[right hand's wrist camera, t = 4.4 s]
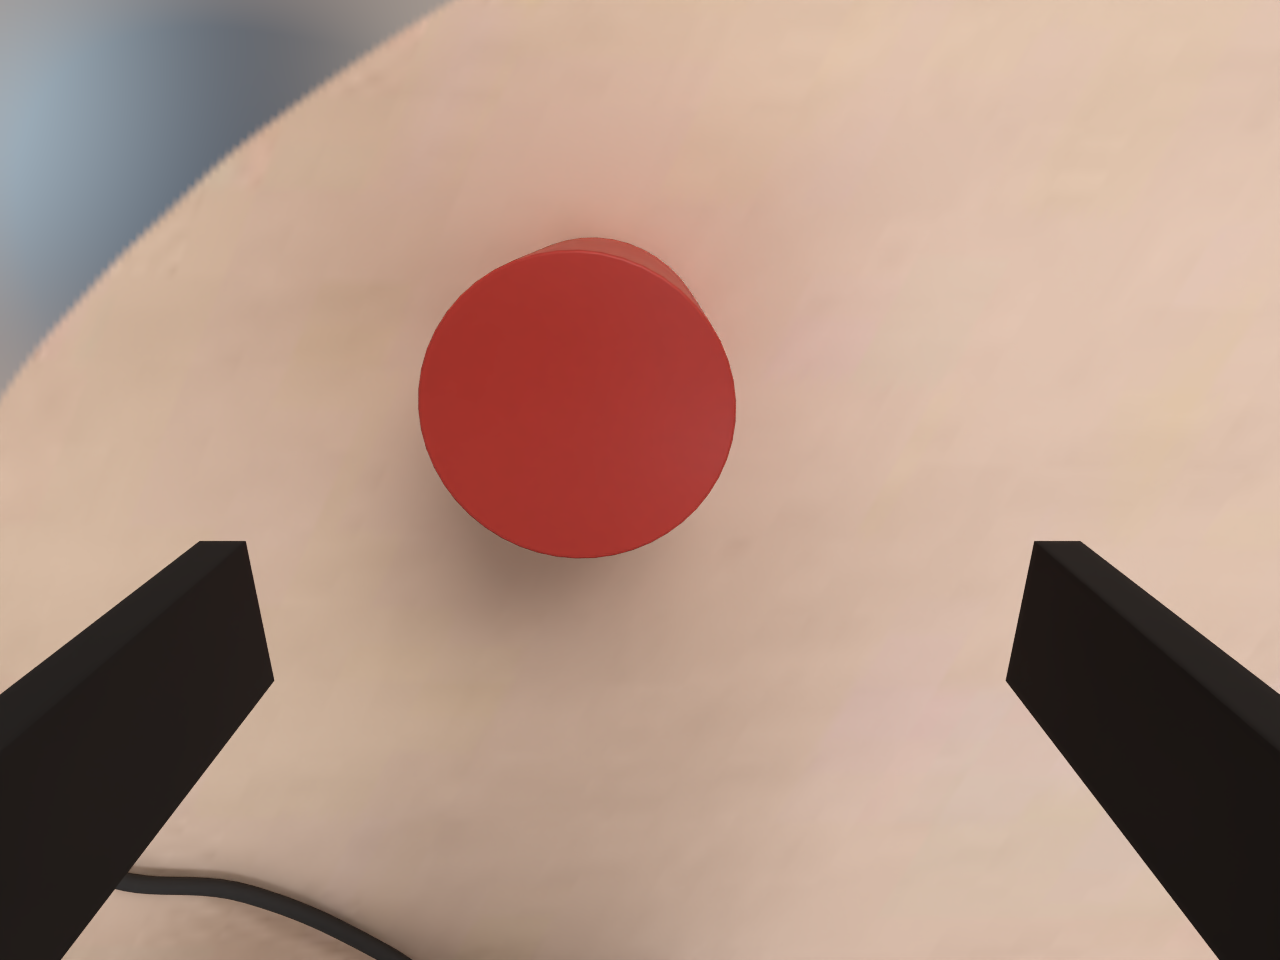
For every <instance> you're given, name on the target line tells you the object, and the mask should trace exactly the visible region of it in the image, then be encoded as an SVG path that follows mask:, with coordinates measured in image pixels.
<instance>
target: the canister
mask: <svg viewBox="0 0 1280 960" xmlns="http://www.w3.org/2000/svg"><path fill="white" fill-rule="evenodd" d="M418 410H419V417H420V425H421V431H422V435H423V438H424V442H425V446H426V449H427V452H428V454H429V456H430V459H431V461H432V464H433V466H434V468H435V470H436V472H437V473H438V475H439V477H440V479H441V480H442V482H443V484H444V485H445V487H446V488H447V489H448V491H449V492H450V493H451V495H452V496H453V497H454V499H455V500H456V501H457V502H458V503H459V504H460V505H461V506H462V507H463V508H464V509H465V510H466V512H467V513H468V514H469V515H471V516H472V517H473V518H474V519H475V520H477V521H478V522H479V523H480V524H482V525H483V526H484V527H485V528H487V529H488V530H490V531H492V532H493V533H495V534H496V535H498V536H500V537H501V538H503V539H505V540H507V541H509V542H511V543H514V544H516V545H518V546H520V547H523V548H526V549H529V550H532V551H535V552H538V553H543V554H547V555H552V556H557V557H567V558H597V557H604V556H611V555H616V554H620V553H623V552H627V551H631V550H634V549H636V548H639V547H641V546H644V545H646V544H649V543H651V542H653V541H654V540H656V539H658V538H660V537H662V536H663V535H665V534H667V533H668V532H670V531H671V530H673V529H674V528H675V527H677V526H678V525H679V524H681V523H682V522H683V521H684V520H685V519H686V518H687V517H689V516H690V515H691V514H692V513H693V512H694V511H695V510H696V509H697V508H698V507H699V505H700V504H701V503H702V502H703V500H704V499H705V498H706V497H707V495H708V494H709V493H710V491H711V489H712V488H713V486H714V485H715V483H716V481H717V480H718V478H719V476H720V474H721V472H722V469H723V467H724V465H725V463H726V460H727V457H728V454H729V451H730V447H731V444H732V440H733V434H734V427H735V421H736V398H735V389H734V381H733V377H732V373H731V369H730V365H729V361H728V358H727V356H726V353H725V351H724V349H723V346H722V344H721V341H720V339H719V338H718V336H717V334H716V332H715V331H714V329H713V327H712V325H711V324H710V322H709V320H708V319H707V317H706V316H705V314H704V313H703V311H702V309H701V308H700V306H699V305H698V303H697V302H696V300H695V299H694V297H693V295H692V294H691V292H690V291H689V289H688V288H687V287H686V285H685V284H684V283H683V281H682V280H681V279H680V278H679V277H678V276H677V275H676V274H675V273H674V272H673V271H672V270H671V269H670V268H669V267H668V266H667V265H666V264H664V263H663V262H662V261H661V260H659V259H658V258H657V257H655V256H653V255H652V254H650V253H648V252H646V251H645V250H643V249H641V248H638V247H636V246H633V245H631V244H628V243H624V242H620V241H616V240H613V239H604V238H579V239H573V240H567V241H563V242H560V243H556V244H553V245H550V246H548V247H545V248H543V249H540V250H538V251H536V252H533V253H531V254H528V255H526V256H523V257H521V258H518V259H516V260H514V261H512V262H509V263H507V264H505V265H503V266H501V267H499V268H497V269H495V270H493V271H492V272H490V273H489V274H487V275H486V276H484V277H483V278H481V279H479V280H478V281H476V282H475V283H474V284H473V285H472V286H471V287H470V288H469V289H467V290H466V291H465V292H464V293H463V294H462V295H461V296H460V297H459V298H458V299H457V300H456V301H455V303H454V304H453V305H452V306H451V307H450V309H449V310H448V311H447V312H446V314H445V315H444V317H443V319H442V320H441V322H440V323H439V325H438V326H437V328H436V330H435V332H434V334H433V336H432V339H431V341H430V343H429V345H428V348H427V350H426V354H425V357H424V361H423V364H422V368H421V374H420V381H419V389H418Z"/></svg>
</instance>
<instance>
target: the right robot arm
mask: <svg viewBox="0 0 1280 960" xmlns="http://www.w3.org/2000/svg"><path fill="white" fill-rule="evenodd" d="M273 682H274V677H273V672H272V667H271V662H270V657H269V653H268V648H267V643H266V638H265V633H264V628H263V623H262V618H261V614H260V609H259V604H258V599H257V594H256V589H255V584H254V579H253V575H252V570H251V565H250V560H249V555H248V550H247V545H246V541H199V542H198V543H197V544H195V545H194V546H193V547H191V548H190V549H189V550H187V551H186V552H185V553H184V554H182V555H181V556H180V557H178V558H177V559H176V560H174V561H173V562H172V563H171V564H169V565H168V566H167V567H165V568H164V569H163V570H161V571H160V572H159V573H158V574H156V575H155V576H154V577H152V578H151V579H150V580H148V581H147V582H146V583H145V584H143V585H142V586H141V587H139V588H138V589H137V590H135V591H134V592H133V593H132V594H130V595H129V596H128V597H126V598H125V599H124V600H122V601H121V602H120V603H119V604H117V605H116V606H115V607H113V608H112V609H111V610H109V611H108V612H107V613H106V614H104V615H103V616H102V617H100V618H99V619H98V620H96V621H95V622H94V623H93V624H91V625H90V626H89V627H87V628H86V629H85V630H83V631H82V632H81V633H80V634H78V635H77V636H76V637H74V638H73V639H72V640H70V641H69V642H68V643H67V644H65V645H64V646H63V647H61V648H60V649H59V650H57V651H56V652H55V653H54V654H52V655H51V656H50V657H48V658H47V659H46V660H44V661H43V662H42V663H41V664H39V665H38V666H37V667H35V668H34V669H33V670H31V671H30V672H29V673H28V674H26V675H25V676H24V677H22V678H21V679H20V680H18V681H17V682H16V683H15V684H13V685H12V686H11V687H9V688H8V689H7V690H5V691H4V692H3V693H2V694H0V960H61V959H62V958H63V956H64V955H65V954H66V952H67V951H68V950H69V948H70V947H71V946H72V944H73V943H74V942H75V941H76V939H77V938H78V937H79V935H80V934H81V933H82V931H83V930H84V929H85V927H86V926H87V925H88V924H89V922H90V921H91V920H92V918H93V917H94V916H95V914H96V913H97V912H98V910H99V909H100V908H101V907H102V905H103V904H104V903H105V901H106V900H107V899H108V897H109V896H110V895H111V893H112V892H113V891H114V890H115V889H117V890H121V891H127V892H133V893H142V894H160V895H198V896H210V897H219V898H225V899H231V900H235V901H239V902H243V903H246V904H250V905H253V906H256V907H260V908H263V909H266V910H269V911H272V912H275V913H278V914H281V915H283V916H286V917H289V918H291V919H294V920H296V921H299V922H301V923H304V924H306V925H308V926H311V927H313V928H315V929H317V930H320V931H322V932H324V933H326V934H328V935H330V936H332V937H334V938H336V939H338V940H340V941H342V942H344V943H346V944H348V945H350V946H352V947H354V948H356V949H358V950H359V951H361V952H363V953H365V954H367V955H369V956H371V957H373V958H375V959H376V960H412V959H410V958H409V957H407V956H406V955H404V954H403V953H401V952H399V951H398V950H396V949H394V948H393V947H391V946H389V945H387V944H386V943H384V942H382V941H380V940H378V939H376V938H374V937H373V936H371V935H369V934H367V933H365V932H363V931H361V930H359V929H357V928H356V927H354V926H352V925H350V924H348V923H346V922H344V921H342V920H340V919H338V918H336V917H334V916H332V915H329V914H327V913H325V912H323V911H321V910H319V909H316V908H314V907H312V906H309V905H307V904H304V903H302V902H299V901H297V900H294V899H291V898H289V897H286V896H283V895H280V894H277V893H274V892H271V891H268V890H265V889H262V888H258V887H255V886H252V885H248V884H244V883H240V882H235V881H229V880H223V879H213V878H196V877H157V876H145V875H138V874H132V873H128V871H129V870H130V869H131V867H132V866H133V865H134V863H135V862H136V861H137V859H138V858H139V857H140V856H141V854H142V853H143V852H144V850H145V849H146V848H147V846H148V845H149V844H150V842H151V841H152V840H153V839H154V837H155V836H156V835H157V833H158V832H159V831H160V829H161V828H162V827H163V825H164V824H165V823H166V822H167V820H168V819H169V818H170V816H171V815H172V814H173V812H174V811H175V810H176V808H177V807H178V806H179V805H180V803H181V802H182V801H183V799H184V798H185V797H186V795H187V794H188V793H189V791H190V790H191V789H192V788H193V786H194V785H195V784H196V782H197V781H198V780H199V778H200V777H201V776H202V774H203V773H204V772H205V771H206V769H207V768H208V767H209V765H210V764H211V763H212V761H213V760H214V759H215V757H216V756H217V755H218V754H219V752H220V751H221V750H222V748H223V747H224V746H225V744H226V743H227V742H228V740H229V739H230V738H231V737H232V735H233V734H234V733H235V731H236V730H237V729H238V727H239V726H240V725H241V723H242V722H243V721H244V720H245V718H246V717H247V716H248V714H249V713H250V712H251V710H252V709H253V708H254V706H255V705H256V704H257V703H258V701H259V700H260V699H261V697H262V696H263V695H264V693H265V692H266V691H267V689H268V688H269V687H270V686H271V684H272V683H273ZM1006 682H1007V683H1008V684H1009V686H1010V687H1011V688H1012V689H1013V691H1014V692H1015V693H1016V695H1017V696H1018V697H1019V699H1020V700H1021V701H1022V703H1023V704H1024V705H1025V706H1026V708H1027V709H1028V710H1029V712H1030V713H1031V714H1032V716H1033V717H1034V718H1035V720H1036V721H1037V722H1038V723H1039V725H1040V726H1041V727H1042V729H1043V730H1044V731H1045V733H1046V734H1047V735H1048V737H1049V738H1050V739H1051V740H1052V742H1053V743H1054V744H1055V746H1056V747H1057V748H1058V750H1059V751H1060V752H1061V754H1062V755H1063V756H1064V757H1065V759H1066V760H1067V761H1068V763H1069V764H1070V765H1071V767H1072V768H1073V769H1074V771H1075V772H1076V773H1077V774H1078V776H1079V777H1080V778H1081V780H1082V781H1083V782H1084V784H1085V785H1086V786H1087V788H1088V789H1089V790H1090V791H1091V793H1092V794H1093V795H1094V797H1095V798H1096V799H1097V801H1098V802H1099V803H1100V805H1101V806H1102V807H1103V808H1104V810H1105V811H1106V812H1107V814H1108V815H1109V816H1110V818H1111V819H1112V820H1113V822H1114V823H1115V824H1116V825H1117V827H1118V828H1119V829H1120V831H1121V832H1122V833H1123V835H1124V836H1125V837H1126V839H1127V840H1128V841H1129V842H1130V844H1131V845H1132V846H1133V848H1134V849H1135V850H1136V852H1137V853H1138V854H1139V856H1140V857H1141V858H1142V859H1143V861H1144V862H1145V863H1146V865H1147V866H1148V867H1149V869H1150V870H1151V871H1152V873H1153V874H1154V875H1155V876H1156V878H1157V879H1158V880H1159V882H1160V883H1161V884H1162V886H1163V887H1164V888H1165V890H1166V891H1167V892H1168V893H1169V895H1170V896H1171V897H1172V899H1173V900H1174V901H1175V903H1176V904H1177V905H1178V907H1179V908H1180V909H1181V910H1182V912H1183V913H1184V914H1185V916H1186V917H1187V918H1188V920H1189V921H1190V922H1191V924H1192V925H1193V926H1194V927H1195V929H1196V930H1197V931H1198V933H1199V934H1200V935H1201V937H1202V938H1203V939H1204V941H1205V942H1206V943H1207V944H1208V946H1209V947H1210V948H1211V950H1212V951H1213V952H1214V954H1215V955H1216V956H1217V958H1218V959H1219V960H1280V694H1278V693H1277V692H1276V691H1275V690H1273V689H1272V688H1271V687H1269V686H1268V685H1267V684H1265V683H1264V682H1263V681H1262V680H1260V679H1259V678H1258V677H1256V676H1255V675H1254V674H1252V673H1251V672H1250V671H1249V670H1247V669H1246V668H1245V667H1243V666H1242V665H1241V664H1239V663H1238V662H1237V661H1236V660H1234V659H1233V658H1232V657H1230V656H1229V655H1228V654H1226V653H1225V652H1224V651H1223V650H1221V649H1220V648H1219V647H1217V646H1216V645H1215V644H1213V643H1212V642H1211V641H1210V640H1208V639H1207V638H1206V637H1204V636H1203V635H1202V634H1200V633H1199V632H1198V631H1197V630H1195V629H1194V628H1193V627H1191V626H1190V625H1189V624H1187V623H1186V622H1185V621H1184V620H1182V619H1181V618H1180V617H1178V616H1177V615H1176V614H1174V613H1173V612H1172V611H1171V610H1169V609H1168V608H1167V607H1165V606H1164V605H1163V604H1161V603H1160V602H1159V601H1158V600H1156V599H1155V598H1154V597H1152V596H1151V595H1150V594H1148V593H1147V592H1146V591H1145V590H1143V589H1142V588H1141V587H1139V586H1138V585H1137V584H1135V583H1134V582H1133V581H1132V580H1130V579H1129V578H1128V577H1126V576H1125V575H1124V574H1122V573H1121V572H1120V571H1119V570H1117V569H1116V568H1115V567H1113V566H1112V565H1111V564H1109V563H1108V562H1107V561H1106V560H1104V559H1103V558H1102V557H1100V556H1099V555H1098V554H1096V553H1095V552H1094V551H1093V550H1091V549H1090V548H1089V547H1087V546H1086V545H1085V544H1083V543H1082V542H1081V541H1034V545H1033V550H1032V555H1031V560H1030V565H1029V570H1028V575H1027V579H1026V584H1025V589H1024V594H1023V599H1022V604H1021V609H1020V614H1019V618H1018V623H1017V628H1016V633H1015V638H1014V643H1013V648H1012V653H1011V657H1010V662H1009V667H1008V672H1007V677H1006Z"/></svg>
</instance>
